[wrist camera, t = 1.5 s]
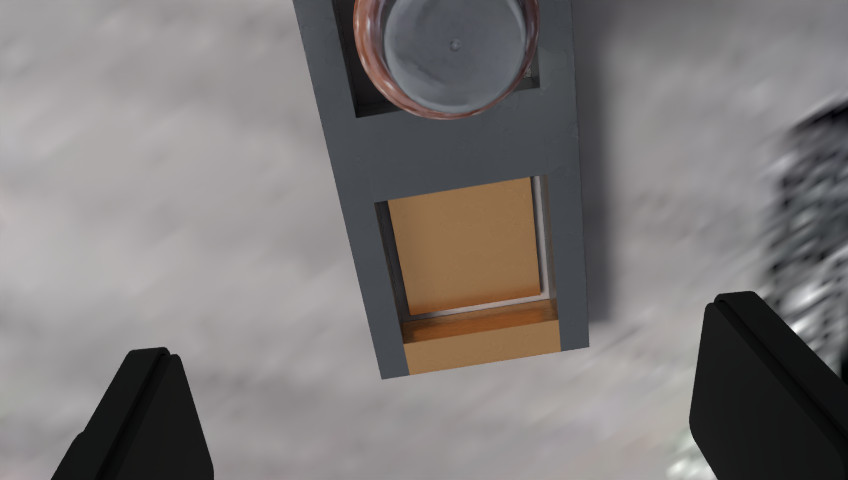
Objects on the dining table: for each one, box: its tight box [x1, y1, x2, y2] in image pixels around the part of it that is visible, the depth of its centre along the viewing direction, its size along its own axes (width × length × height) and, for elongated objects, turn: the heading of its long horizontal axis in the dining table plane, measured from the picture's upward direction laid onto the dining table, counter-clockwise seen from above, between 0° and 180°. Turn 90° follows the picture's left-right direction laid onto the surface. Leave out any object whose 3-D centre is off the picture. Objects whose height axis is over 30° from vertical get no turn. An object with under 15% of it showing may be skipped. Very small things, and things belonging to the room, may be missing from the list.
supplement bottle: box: [353, 0, 540, 120], centre depth 23 cm, size 6×6×11 cm
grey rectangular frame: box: [293, 0, 589, 379], centre depth 30 cm, size 11×24×2 cm, turn 9°
